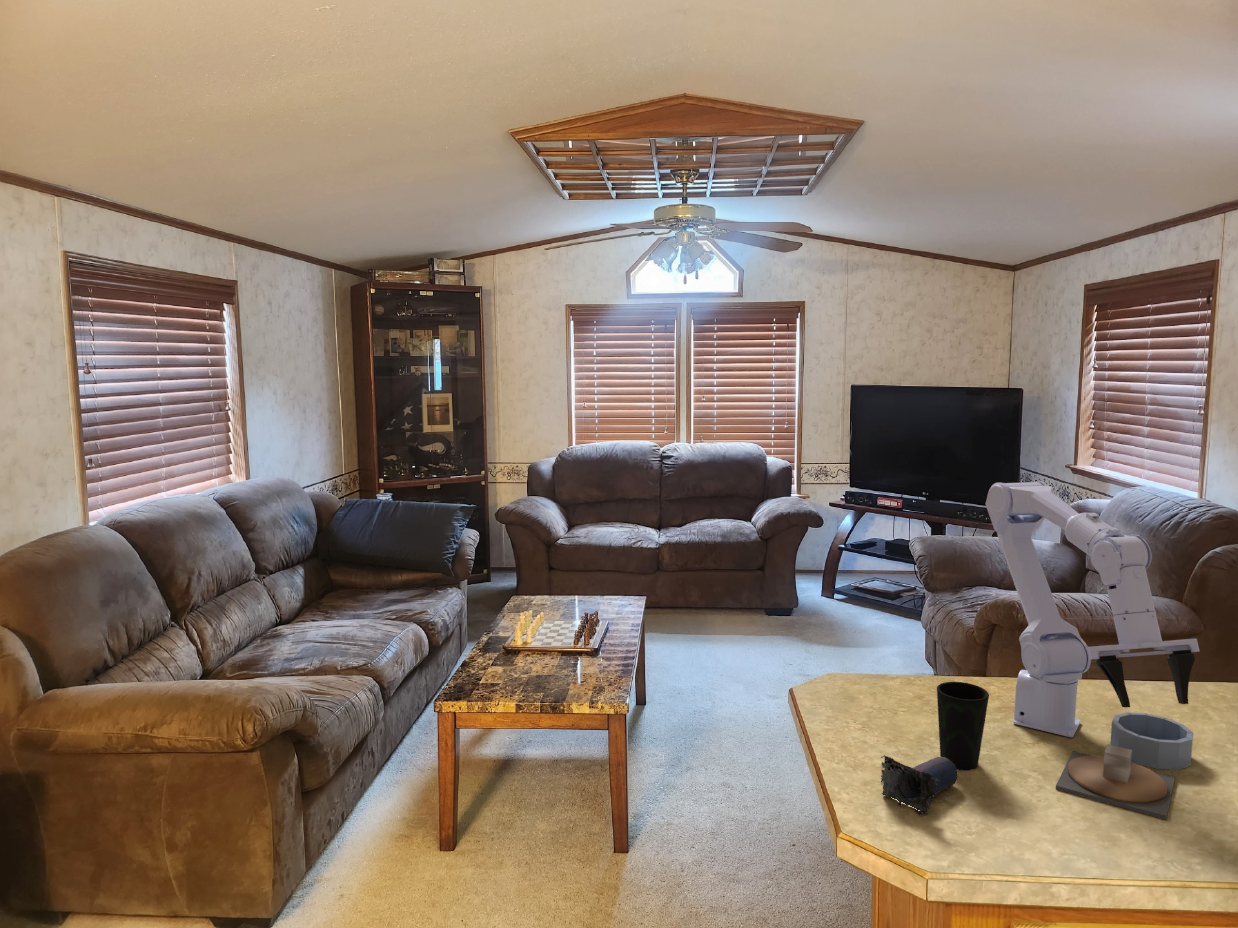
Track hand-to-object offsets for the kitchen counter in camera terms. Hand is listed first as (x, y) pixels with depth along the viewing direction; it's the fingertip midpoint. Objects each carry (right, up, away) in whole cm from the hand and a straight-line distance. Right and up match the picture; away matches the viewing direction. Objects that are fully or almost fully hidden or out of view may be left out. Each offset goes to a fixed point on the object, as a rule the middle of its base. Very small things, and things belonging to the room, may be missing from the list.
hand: (1154, 705), depth 126 cm
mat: (-5, -13, +2) cm, 14 cm away
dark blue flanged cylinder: (-35, -13, -1) cm, 37 cm away
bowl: (+7, -11, +12) cm, 18 cm away
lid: (-5, -12, +2) cm, 13 cm away
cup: (-26, -12, +9) cm, 30 cm away
